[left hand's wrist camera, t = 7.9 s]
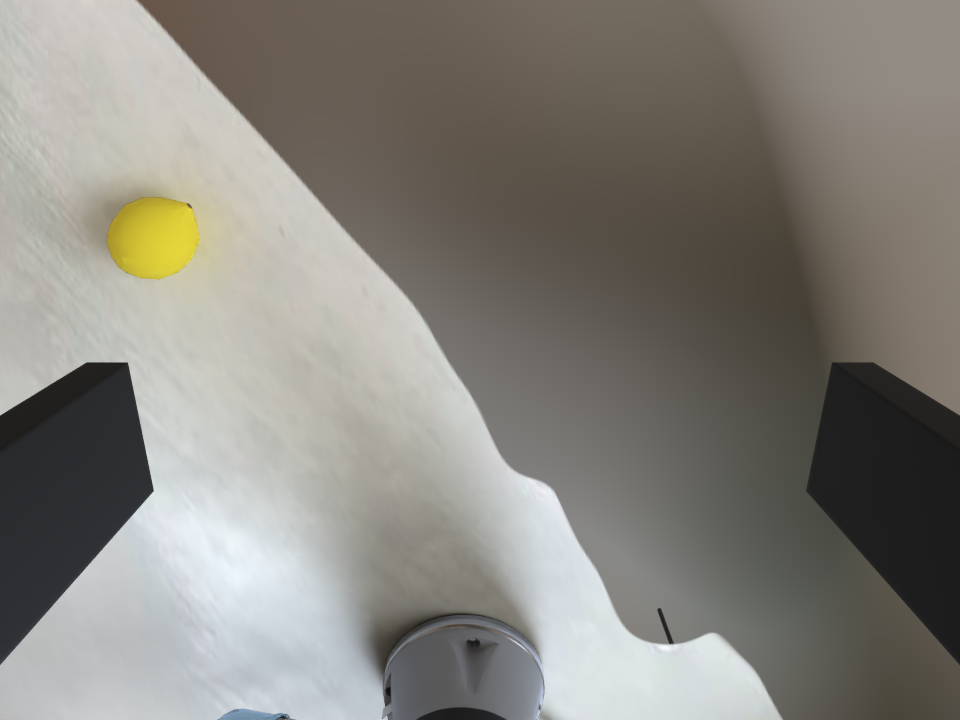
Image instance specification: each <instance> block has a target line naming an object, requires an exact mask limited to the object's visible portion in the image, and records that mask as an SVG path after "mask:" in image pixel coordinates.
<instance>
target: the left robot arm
mask: <svg viewBox="0 0 960 720" xmlns="http://www.w3.org/2000/svg"><path fill="white" fill-rule="evenodd" d="M153 491H154V490H153V485H152V480H151V475H150V470H149V465H148V460H147V455H146V450H145V445H144V440H143V435H142V430H141V425H140V420H139V415H138V410H137V405H136V401H135V396H134V391H133V386H132V381H131V376H130V371H129V366H128V363H85V364H84V365H82V366H80V367H79V368H77V369H75V370H74V371H72V372H70V373H69V374H67V375H66V376H64V377H62V378H61V379H59V380H57V381H56V382H54V383H53V384H51V385H49V386H48V387H46V388H44V389H43V390H41V391H39V392H38V393H36V394H35V395H33V396H31V397H30V398H28V399H26V400H25V401H23V402H22V403H20V404H18V405H17V406H15V407H13V408H12V409H10V410H9V411H7V412H5V413H4V414H2V415H0V665H1V663H2V662H3V661H4V660H5V659H6V658H7V657H8V655H9V654H10V653H11V652H12V651H13V650H14V649H15V648H16V646H17V645H18V644H19V643H20V642H21V641H22V640H23V638H24V637H25V636H26V635H27V634H28V633H29V632H30V631H31V629H32V628H33V627H34V626H35V625H36V624H37V623H38V621H39V620H40V619H41V618H42V617H43V616H44V615H45V614H46V612H47V611H48V610H49V609H50V608H51V607H52V606H53V604H54V603H55V602H56V601H57V600H58V599H59V598H60V597H61V595H62V594H63V593H64V592H65V591H66V590H67V589H68V587H69V586H70V585H71V584H72V583H73V582H74V581H75V580H76V578H77V577H78V576H79V575H80V574H81V573H82V572H83V570H84V569H85V568H86V567H87V566H88V565H89V564H90V563H91V561H92V560H93V559H94V558H95V557H96V556H97V555H98V553H99V552H100V551H101V550H102V549H103V548H104V547H105V546H106V544H107V543H108V542H109V541H110V540H111V539H112V538H113V536H114V535H115V534H116V533H117V532H118V531H119V530H120V529H121V527H122V526H123V525H124V524H125V523H126V522H127V521H128V520H129V518H130V517H131V516H132V515H133V514H134V513H135V512H136V510H137V509H138V508H139V507H140V506H141V505H142V504H143V503H144V501H145V500H146V499H147V498H148V497H149V496H150V495H151V493H152V492H153ZM806 491H807V492H808V493H809V495H810V496H811V497H812V498H813V499H814V500H815V501H816V503H817V504H818V505H819V506H820V507H821V508H822V509H823V510H824V512H825V513H826V514H827V515H828V516H829V517H830V518H831V520H832V521H833V522H834V523H835V524H836V525H837V526H838V527H839V529H840V530H841V531H842V532H843V533H844V534H845V535H846V537H847V538H848V539H849V540H850V541H851V542H852V543H853V544H854V546H855V547H856V548H857V549H858V550H859V551H860V552H861V553H862V555H863V556H864V557H865V558H866V559H867V560H868V561H869V562H870V564H871V565H872V566H873V567H874V568H875V569H876V570H877V572H878V573H879V574H880V575H881V576H882V577H883V578H884V580H885V581H886V582H887V583H888V584H889V585H890V586H891V587H892V589H893V590H894V591H895V592H896V593H897V594H898V595H899V597H900V598H901V599H902V600H903V601H904V602H905V603H906V604H907V606H908V607H909V608H910V609H911V610H912V611H913V612H914V614H915V615H916V616H917V617H918V618H919V619H920V620H921V621H922V623H923V624H924V625H925V626H926V627H927V628H928V629H929V631H930V632H931V633H932V634H933V635H934V636H935V637H936V638H937V639H938V641H939V642H940V643H941V644H942V645H943V646H944V648H945V649H946V650H947V651H948V652H949V653H950V654H951V655H952V657H953V658H954V659H955V660H956V661H957V662H958V663H959V664H960V415H958V414H956V413H955V412H953V411H951V410H950V409H948V408H947V407H945V406H943V405H942V404H940V403H938V402H937V401H935V400H934V399H932V398H930V397H929V396H927V395H925V394H924V393H922V392H921V391H919V390H917V389H916V388H914V387H912V386H911V385H909V384H907V383H906V382H904V381H903V380H901V379H899V378H898V377H896V376H894V375H893V374H891V373H890V372H888V371H886V370H885V369H883V368H881V367H880V366H878V365H876V364H875V363H832V366H831V371H830V376H829V381H828V386H827V391H826V396H825V401H824V406H823V410H822V416H821V421H820V425H819V430H818V435H817V440H816V445H815V450H814V455H813V460H812V465H811V470H810V475H809V480H808V485H807V490H806ZM657 611H658V614H659V617H660V620H661V622H662V625H663V628H664V631H665V633H666V636H667V639H668V642H669V644H670V645H671V644H672V645H674V642H673V640H672V637H671V634H670V631H669V629H668V626H667V623H666V621H665V618H664V615H663V612H662V609H661V608H658V609H657ZM383 695H384V702H385V708H384V709H383V715H382V719H383V718H384V717H386V716H387V717H388V720H537V719H538V716H539V714H540V710H541V707H542V703H543V698H544V679H543V670H542V665H541V661H540V658H539V656H538V654H537V652H536V650H535V649H534V647H533V646H532V645H531V643H530V642H529V641H528V640H527V639H526V638H525V637H524V636H523V635H522V634H520V633H519V632H518V631H516V630H515V629H513V628H512V627H510V626H508V625H506V624H504V623H502V622H499V621H497V620H494V619H490V618H486V617H482V616H475V615H452V616H445V617H441V618H437V619H433V620H430V621H427V622H425V623H423V624H421V625H419V626H417V627H415V628H414V629H412V630H411V631H409V632H408V633H407V634H406V635H404V636H403V637H402V638H401V639H400V640H399V641H398V643H397V644H396V645H395V646H394V648H393V650H392V651H391V653H390V655H389V658H388V661H387V664H386V670H385V676H384V681H383ZM218 720H294V719H290V718H289V715H287V714H284V713H278V714H275V715H273V714H268V713H263V712H258V711H253V710H248V709H236V710H233V711H231V712H228V713H226V714H225V715H223V716H222V717H221V718H219V719H218Z"/></svg>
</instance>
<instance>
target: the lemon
mask: <svg viewBox="0 0 960 720" xmlns="http://www.w3.org/2000/svg"><path fill="white" fill-rule="evenodd" d="M198 243H199V234H198V227H197V223H196V220H195V216H194V213H193V210H192V207H191V205H190V204H188V203H183V202H179V201H174V200H170V199H167V198H163V197H151V198H141V199H139V200H136V201H134V202H132V203H129V204H127V205H125V206H124V207H123V208H122V209H121V210H120V212H119V213H118V215H117V216H116V217H115V219H114V220H113V222H112V223H111V224H110V226H109V231H108V237H107V245H108V248H109V251H110V254H111V257H112V258H113V260H114V261H115V262H116V264H117V266H118V267H120V268H121V269H122V270H123V271H125V272H126V273H129V274H131V275H134V276H136V277H139V278H147V279H162V278H164V277H167V276H170V275H173V274H176V273H177V272H179V271H180V270H181V269H182V268H183V267H184V266H185V265H186V264H188V263H189V262H190V261H191V259H192V257H193V255H194V253H195V250H196V248H197V245H198Z"/></svg>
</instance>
